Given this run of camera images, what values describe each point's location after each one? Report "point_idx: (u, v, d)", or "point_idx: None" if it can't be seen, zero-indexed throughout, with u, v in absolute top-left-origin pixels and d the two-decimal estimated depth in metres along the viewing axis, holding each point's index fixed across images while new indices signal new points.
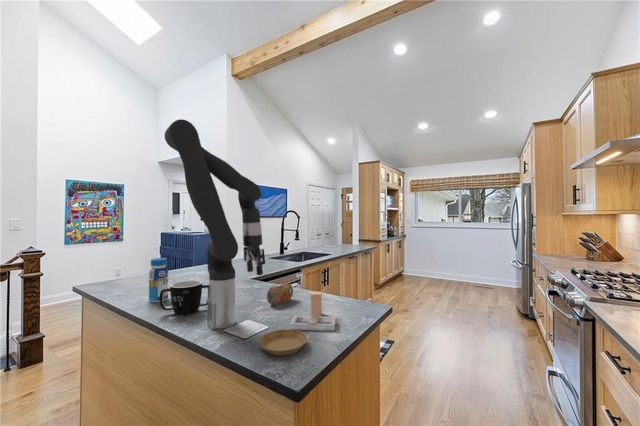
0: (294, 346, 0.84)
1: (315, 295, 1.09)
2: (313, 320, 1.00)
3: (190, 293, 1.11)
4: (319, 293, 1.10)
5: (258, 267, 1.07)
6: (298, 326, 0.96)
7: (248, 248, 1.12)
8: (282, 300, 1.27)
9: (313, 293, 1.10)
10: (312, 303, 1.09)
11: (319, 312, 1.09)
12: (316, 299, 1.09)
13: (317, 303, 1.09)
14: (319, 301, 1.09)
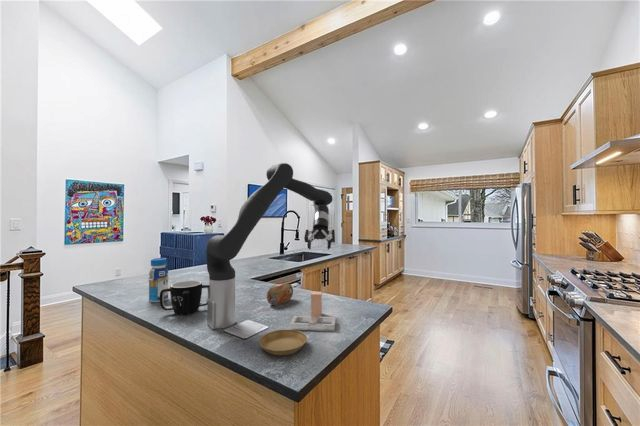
0: (294, 346, 0.84)
1: (315, 295, 1.09)
2: (313, 320, 1.00)
3: (190, 293, 1.11)
4: (319, 293, 1.10)
5: (330, 241, 1.24)
6: (298, 326, 0.96)
7: (315, 230, 1.30)
8: (282, 300, 1.27)
9: (313, 293, 1.10)
10: (312, 303, 1.09)
11: (319, 312, 1.09)
12: (316, 299, 1.09)
13: (317, 303, 1.09)
14: (319, 301, 1.09)
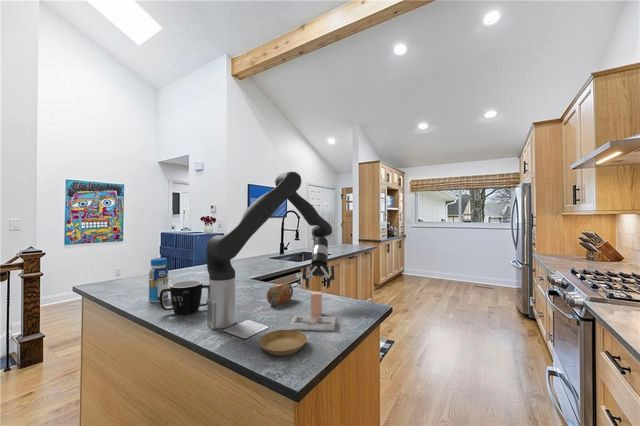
0: (294, 346, 0.84)
1: (315, 295, 1.09)
2: (313, 320, 1.00)
3: (190, 293, 1.11)
4: (319, 293, 1.10)
5: (329, 280, 1.18)
6: (298, 326, 0.96)
7: (314, 266, 1.23)
8: (282, 300, 1.27)
9: (313, 293, 1.10)
10: (312, 303, 1.09)
11: (319, 312, 1.09)
12: (316, 299, 1.09)
13: (317, 303, 1.09)
14: (319, 301, 1.09)
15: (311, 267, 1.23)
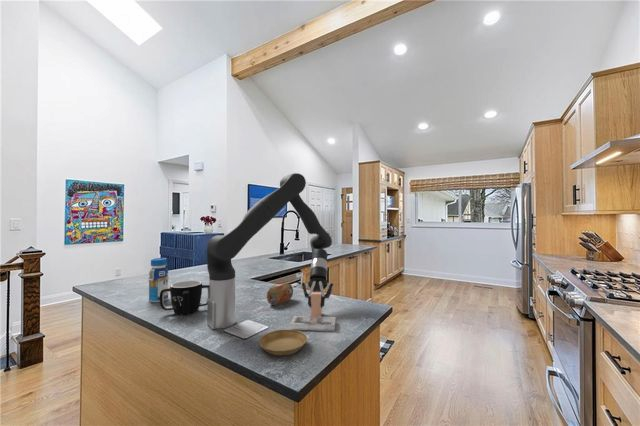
0: (294, 346, 0.84)
1: (315, 295, 1.09)
2: (313, 320, 1.00)
3: (190, 293, 1.11)
4: (319, 293, 1.10)
5: (323, 298, 1.11)
6: (298, 326, 0.96)
7: (312, 280, 1.17)
8: (282, 300, 1.27)
9: (313, 293, 1.10)
10: (312, 303, 1.09)
11: (319, 312, 1.09)
12: (316, 299, 1.09)
13: (317, 303, 1.09)
14: (319, 301, 1.09)
15: (310, 282, 1.16)
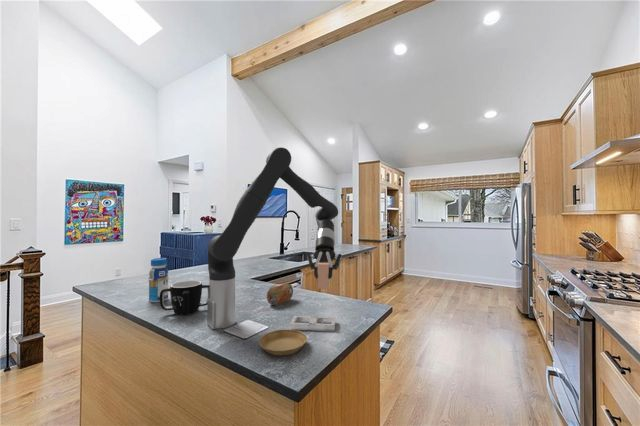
0: (294, 346, 0.84)
1: (322, 265, 0.99)
2: (313, 320, 1.00)
3: (190, 293, 1.11)
4: (326, 263, 1.00)
5: (331, 269, 1.00)
6: (298, 326, 0.96)
7: (318, 251, 1.06)
8: (282, 300, 1.27)
9: (320, 263, 1.00)
10: (319, 274, 0.99)
11: (326, 284, 0.99)
12: (323, 270, 0.99)
13: (324, 274, 0.99)
14: (326, 272, 0.99)
15: (316, 253, 1.06)
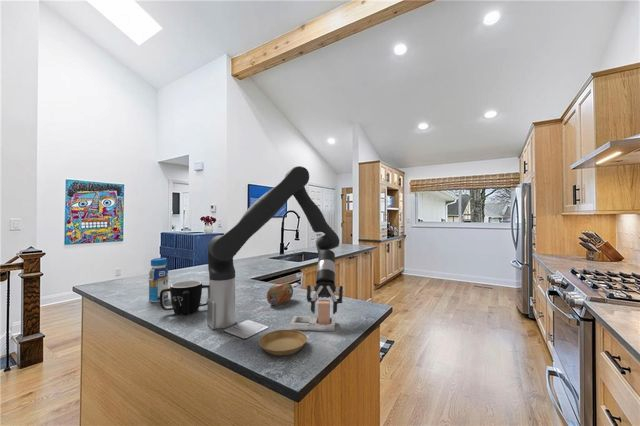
0: (294, 346, 0.84)
1: (323, 304, 0.98)
2: (313, 320, 1.00)
3: (190, 293, 1.11)
4: (327, 302, 0.99)
5: (336, 303, 0.99)
6: (298, 326, 0.96)
7: (319, 285, 1.05)
8: (282, 300, 1.27)
9: (320, 302, 0.99)
10: (319, 313, 0.98)
11: (327, 323, 0.98)
12: (324, 309, 0.98)
13: (325, 313, 0.98)
14: (327, 311, 0.98)
15: (316, 287, 1.05)
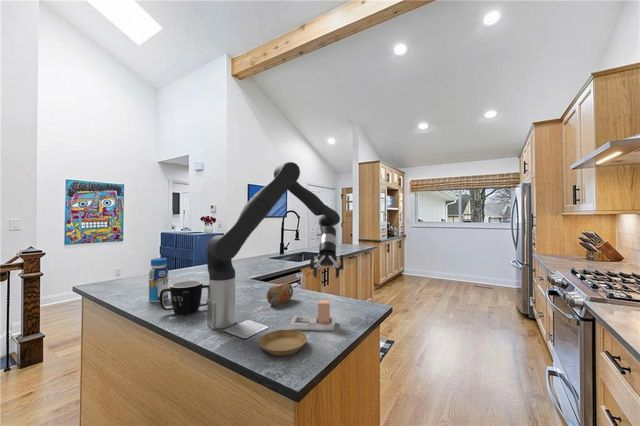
0: (294, 346, 0.84)
1: (323, 304, 0.98)
2: (313, 320, 1.00)
3: (190, 293, 1.11)
4: (327, 302, 0.99)
5: (338, 269, 1.12)
6: (298, 326, 0.96)
7: (322, 255, 1.18)
8: (282, 300, 1.27)
9: (320, 302, 0.99)
10: (319, 313, 0.98)
11: (327, 323, 0.98)
12: (324, 309, 0.98)
13: (325, 313, 0.98)
14: (327, 311, 0.98)
15: (319, 256, 1.17)
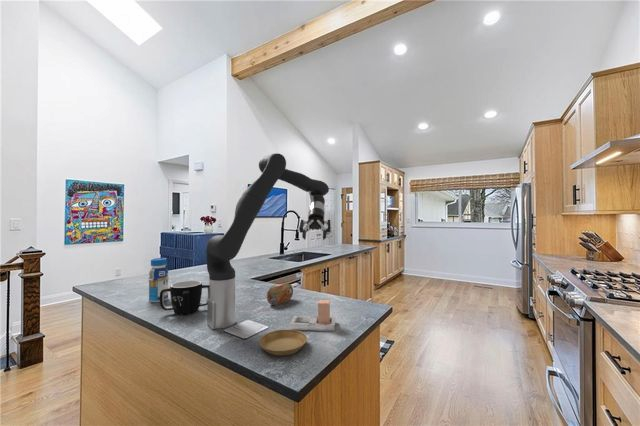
0: (294, 346, 0.84)
1: (323, 304, 0.98)
2: (313, 320, 1.00)
3: (190, 293, 1.11)
4: (327, 302, 0.99)
5: (325, 231, 1.21)
6: (298, 326, 0.96)
7: (310, 220, 1.26)
8: (282, 300, 1.27)
9: (320, 302, 0.99)
10: (319, 313, 0.98)
11: (327, 323, 0.98)
12: (324, 309, 0.98)
13: (325, 313, 0.98)
14: (327, 311, 0.98)
15: (308, 221, 1.26)
